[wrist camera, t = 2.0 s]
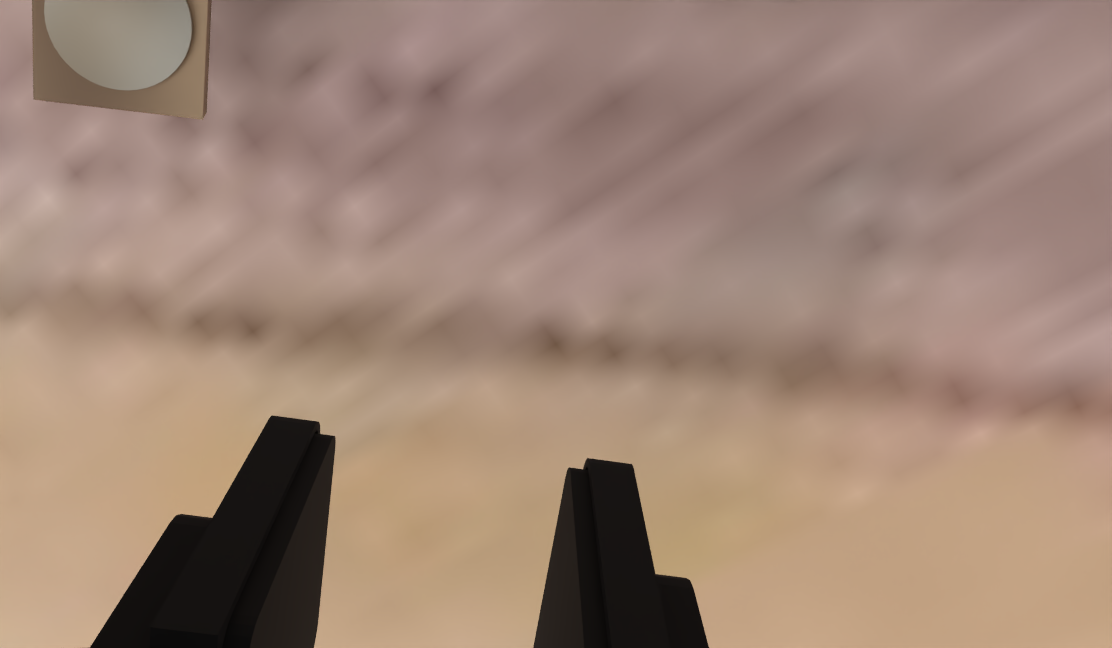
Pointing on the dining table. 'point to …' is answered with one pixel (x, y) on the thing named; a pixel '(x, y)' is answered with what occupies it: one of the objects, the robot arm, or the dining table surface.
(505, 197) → the dining table surface
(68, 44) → the seesaw
